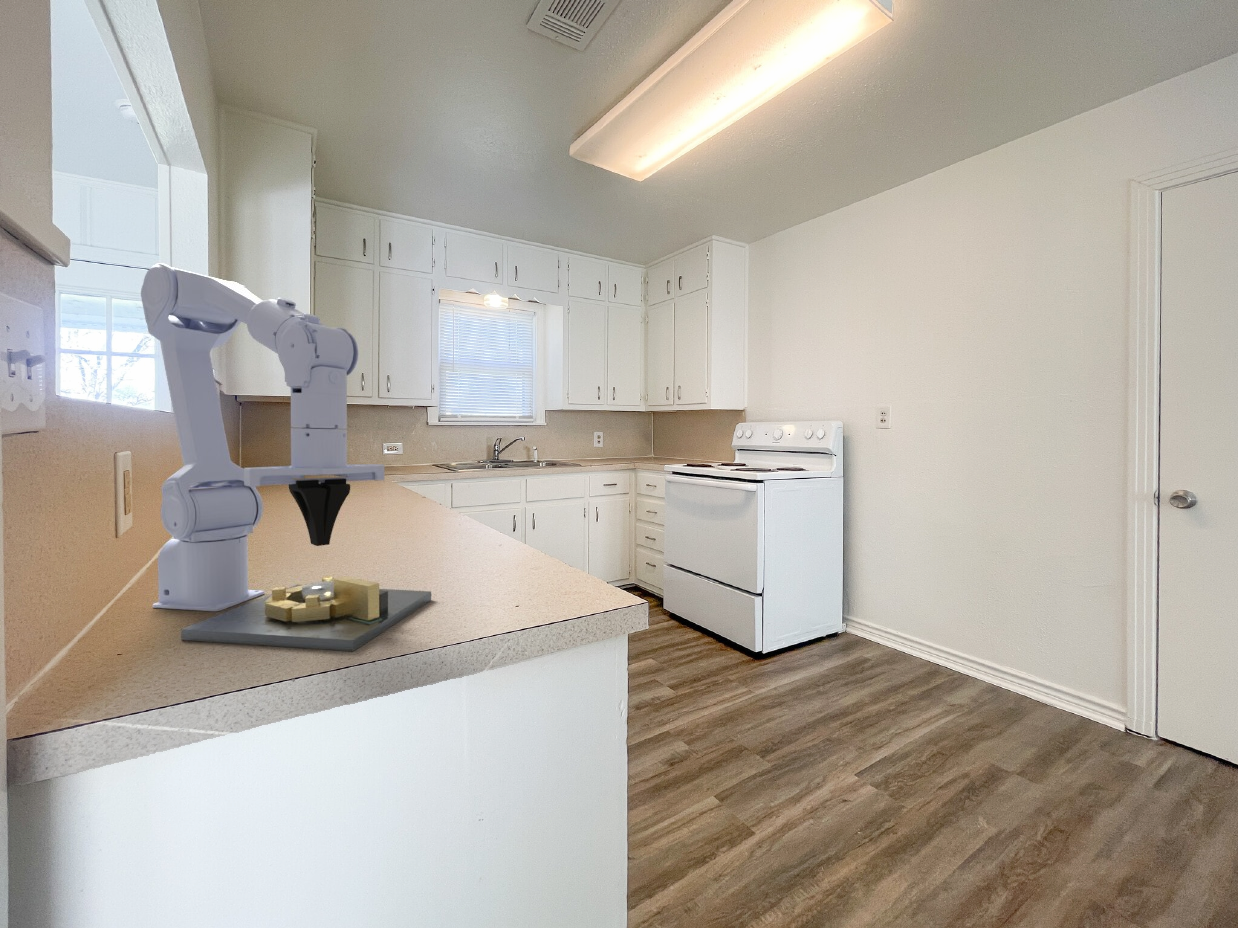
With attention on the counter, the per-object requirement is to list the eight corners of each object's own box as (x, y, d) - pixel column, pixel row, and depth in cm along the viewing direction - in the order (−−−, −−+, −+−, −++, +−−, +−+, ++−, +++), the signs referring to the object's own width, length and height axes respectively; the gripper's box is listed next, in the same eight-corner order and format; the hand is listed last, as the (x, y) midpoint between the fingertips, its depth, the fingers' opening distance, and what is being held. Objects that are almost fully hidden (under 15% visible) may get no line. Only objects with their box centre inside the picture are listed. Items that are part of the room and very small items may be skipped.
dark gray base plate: (181, 639, 59) (180, 604, 58) (297, 592, 76) (296, 565, 76) (353, 651, 56) (353, 613, 56) (431, 599, 74) (431, 571, 74)
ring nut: (247, 611, 64) (247, 577, 64) (332, 588, 74) (332, 559, 74) (329, 633, 57) (329, 596, 57) (411, 605, 67) (411, 574, 67)
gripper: (257, 427, 54) (259, 559, 55) (396, 430, 65) (395, 540, 66) (237, 426, 59) (239, 548, 60) (370, 430, 70) (370, 532, 71)
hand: (320, 544), depth 63 cm, fingers closed
